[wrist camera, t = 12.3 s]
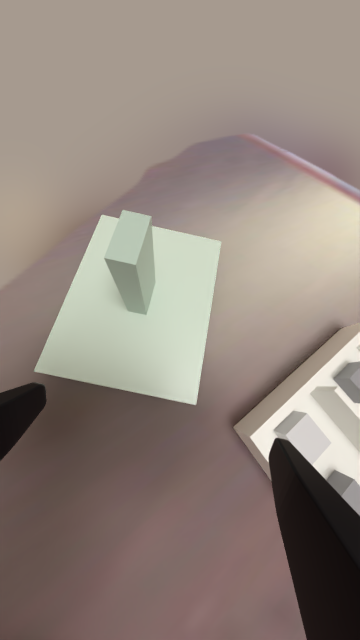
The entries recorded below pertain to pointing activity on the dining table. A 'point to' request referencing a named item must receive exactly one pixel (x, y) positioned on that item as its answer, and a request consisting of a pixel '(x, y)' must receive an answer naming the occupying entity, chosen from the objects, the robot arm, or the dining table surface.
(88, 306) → the lid
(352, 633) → the robot arm
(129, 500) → the dining table surface
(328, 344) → the tub
